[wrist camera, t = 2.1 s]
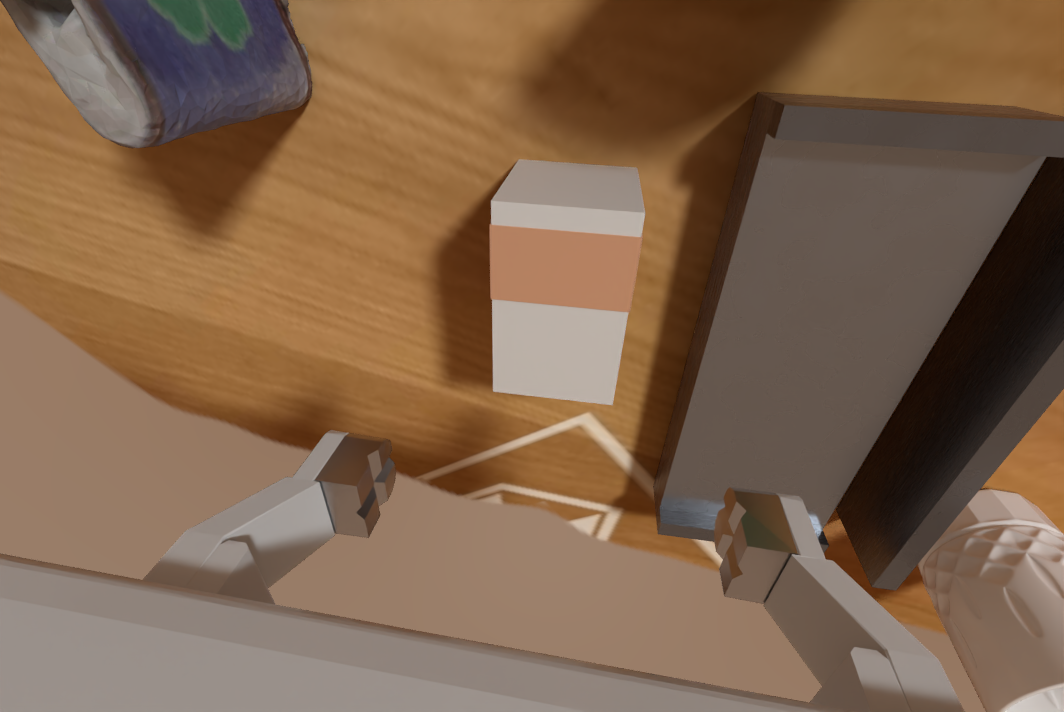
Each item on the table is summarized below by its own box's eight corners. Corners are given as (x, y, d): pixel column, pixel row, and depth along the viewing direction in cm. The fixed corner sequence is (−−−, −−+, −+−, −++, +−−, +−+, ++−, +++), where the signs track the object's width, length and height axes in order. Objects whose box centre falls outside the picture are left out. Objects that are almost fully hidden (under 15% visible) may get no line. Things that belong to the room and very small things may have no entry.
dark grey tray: (653, 486, 31) (660, 557, 27) (757, 92, 18) (800, 112, 14) (856, 512, 30) (895, 590, 26) (1113, 112, 17) (1270, 140, 13)
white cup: (890, 570, 32) (984, 755, 24) (892, 490, 28) (1005, 680, 20) (1038, 558, 30) (1198, 760, 22) (1061, 470, 26) (1267, 675, 18)
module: (514, 321, 26) (491, 393, 21) (517, 158, 21) (489, 201, 16) (613, 330, 25) (613, 406, 20) (638, 167, 21) (647, 213, 16)
